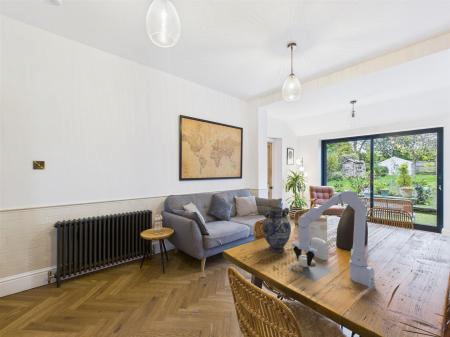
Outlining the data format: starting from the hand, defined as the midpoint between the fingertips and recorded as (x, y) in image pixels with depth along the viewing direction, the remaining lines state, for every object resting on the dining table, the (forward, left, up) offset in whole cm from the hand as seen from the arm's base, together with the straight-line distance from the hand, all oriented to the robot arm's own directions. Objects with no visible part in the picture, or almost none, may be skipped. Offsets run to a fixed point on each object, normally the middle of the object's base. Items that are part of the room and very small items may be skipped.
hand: (304, 263), depth 110 cm
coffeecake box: (+20, -43, -3) cm, 47 cm away
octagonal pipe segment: (0, 0, -1) cm, 1 cm away
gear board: (-3, 0, -3) cm, 5 cm away
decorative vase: (+28, -10, -3) cm, 29 cm away
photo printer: (+3, -19, -3) cm, 19 cm away
